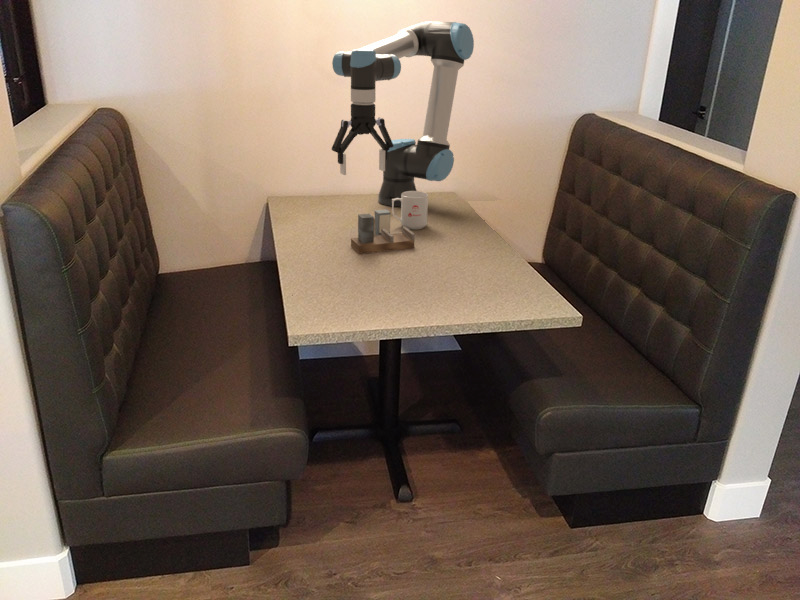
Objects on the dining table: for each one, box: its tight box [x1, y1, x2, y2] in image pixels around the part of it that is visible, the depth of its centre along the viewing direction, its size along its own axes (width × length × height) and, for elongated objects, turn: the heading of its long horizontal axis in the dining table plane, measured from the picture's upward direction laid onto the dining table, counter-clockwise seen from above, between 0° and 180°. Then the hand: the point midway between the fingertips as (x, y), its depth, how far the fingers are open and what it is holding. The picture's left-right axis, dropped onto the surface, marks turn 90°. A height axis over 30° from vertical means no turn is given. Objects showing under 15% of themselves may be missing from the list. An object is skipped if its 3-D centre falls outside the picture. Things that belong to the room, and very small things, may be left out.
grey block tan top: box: [374, 209, 391, 236], centre depth 228 cm, size 4×4×8 cm
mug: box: [391, 190, 429, 230], centre depth 237 cm, size 12×9×11 cm
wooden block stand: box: [350, 213, 416, 255], centre depth 217 cm, size 18×8×10 cm, turn 112°
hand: (362, 172), depth 224 cm, fingers open, 13 cm apart
